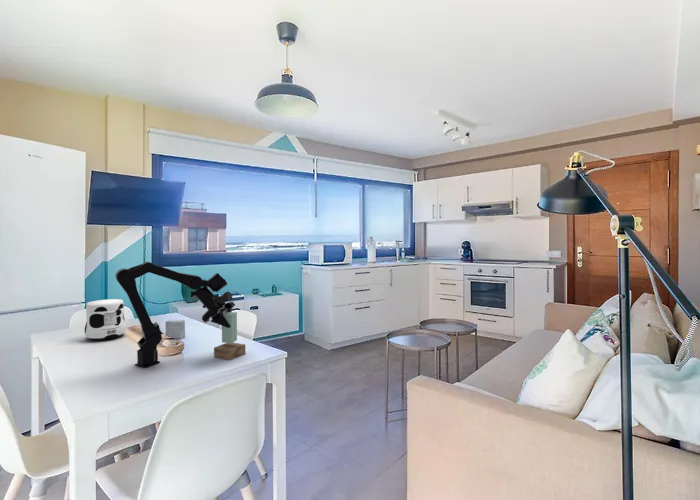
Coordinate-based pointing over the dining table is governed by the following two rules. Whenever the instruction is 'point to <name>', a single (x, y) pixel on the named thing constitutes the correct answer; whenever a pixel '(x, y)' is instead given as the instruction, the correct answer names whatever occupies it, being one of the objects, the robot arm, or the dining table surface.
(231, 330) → the tall green block
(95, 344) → the dining table surface
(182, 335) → the medicine box
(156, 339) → the robot arm
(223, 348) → the walnut block
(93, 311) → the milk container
